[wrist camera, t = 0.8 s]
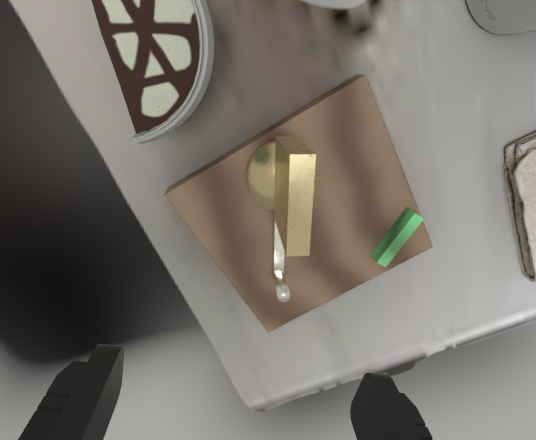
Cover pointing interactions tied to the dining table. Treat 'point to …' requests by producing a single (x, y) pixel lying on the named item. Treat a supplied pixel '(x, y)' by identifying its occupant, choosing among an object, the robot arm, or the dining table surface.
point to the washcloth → (523, 199)
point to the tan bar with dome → (285, 198)
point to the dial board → (323, 212)
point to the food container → (158, 59)
